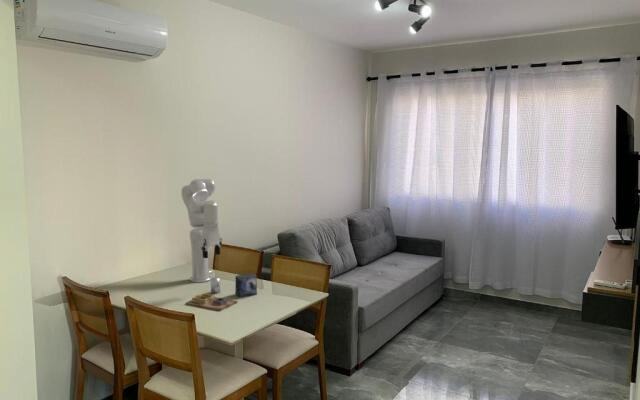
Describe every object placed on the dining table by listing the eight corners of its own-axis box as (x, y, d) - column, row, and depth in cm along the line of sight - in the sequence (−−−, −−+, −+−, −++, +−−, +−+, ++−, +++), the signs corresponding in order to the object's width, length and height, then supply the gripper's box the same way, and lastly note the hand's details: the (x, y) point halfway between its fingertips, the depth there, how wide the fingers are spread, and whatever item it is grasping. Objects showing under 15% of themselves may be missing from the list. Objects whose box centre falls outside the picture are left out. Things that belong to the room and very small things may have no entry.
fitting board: (203, 296, 260) (203, 291, 260) (237, 302, 251) (236, 297, 250) (185, 304, 248) (185, 298, 248) (220, 311, 238) (220, 305, 238)
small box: (238, 297, 260) (238, 278, 258) (235, 294, 265) (234, 275, 264) (257, 294, 265) (257, 276, 263) (253, 291, 270) (253, 273, 269)
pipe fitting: (214, 290, 271) (214, 276, 270) (222, 291, 269) (221, 277, 268) (209, 293, 267) (208, 279, 266) (216, 294, 265) (216, 280, 264)
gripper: (216, 222, 272) (216, 252, 274) (194, 226, 257) (195, 258, 259) (226, 223, 268) (227, 253, 270) (205, 228, 253) (205, 260, 255)
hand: (211, 256), depth 265 cm, fingers open, 9 cm apart
